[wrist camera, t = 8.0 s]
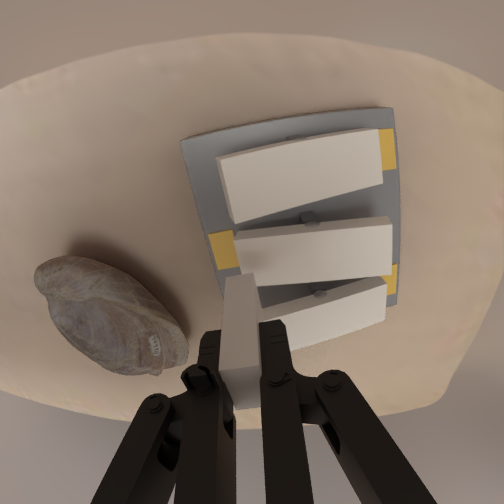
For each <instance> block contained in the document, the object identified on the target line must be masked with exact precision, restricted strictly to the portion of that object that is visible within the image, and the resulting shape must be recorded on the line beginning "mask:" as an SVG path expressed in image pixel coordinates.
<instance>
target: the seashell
mask: <svg viewBox="0 0 504 504" xmlns="http://www.w3.org/2000/svg"><path fill="white" fill-rule="evenodd" d="M34 282H35V286H36V287H37V289H38V290H39V292H40V293H41V294H43V295H44V296H45V297H46V299H47V301H48V308H49V312H50V316H51V318H52V320H53V322H54V324H55V325H56V327H57V328H58V330H59V331H60V332H61V334H62V335H63V336H64V337H65V338H66V339H67V340H68V342H69V343H70V344H71V345H72V346H74V347H75V348H76V349H78V350H79V351H81V352H82V353H83V354H85V355H86V356H88V357H89V358H90V359H91V360H93V361H95V362H97V363H98V364H99V365H101V366H102V367H103V368H105V369H107V370H109V371H111V372H114V373H118V374H122V375H142V374H147V373H148V374H150V375H155V376H158V375H160V374H161V372H162V370H163V369H166V368H172V367H175V366H178V365H183V364H185V363H186V362H187V358H188V354H189V345H188V342H187V340H186V337H185V335H184V333H183V331H182V329H181V327H180V325H179V324H178V322H177V321H176V320H175V319H174V318H173V316H172V315H171V314H170V313H169V312H168V311H167V310H166V308H165V307H164V306H163V305H162V304H161V303H160V302H159V301H158V300H157V299H156V298H155V297H154V296H153V295H152V294H151V293H150V292H149V291H148V290H147V289H146V288H145V287H143V286H142V285H141V284H140V283H139V282H138V281H137V280H136V279H134V278H133V277H132V276H130V275H128V274H127V273H125V272H123V271H121V270H119V269H116V268H114V267H112V266H109V265H107V264H104V263H102V262H99V261H95V260H92V259H89V258H86V257H79V256H62V257H57V258H54V259H50V260H48V261H46V262H45V263H43V264H41V265H40V266H38V267H37V269H36V271H35V274H34Z"/></svg>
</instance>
